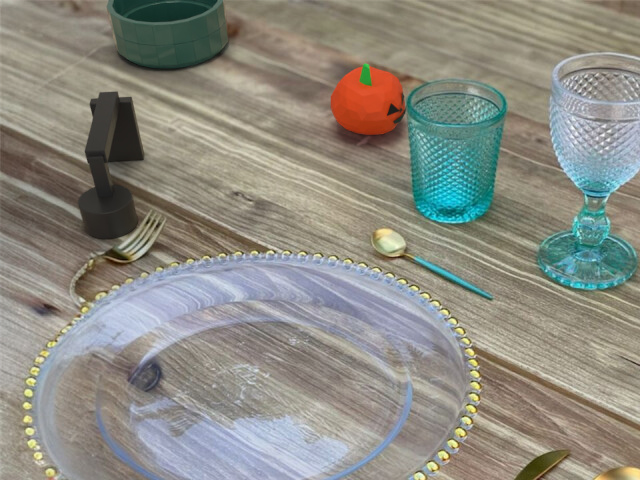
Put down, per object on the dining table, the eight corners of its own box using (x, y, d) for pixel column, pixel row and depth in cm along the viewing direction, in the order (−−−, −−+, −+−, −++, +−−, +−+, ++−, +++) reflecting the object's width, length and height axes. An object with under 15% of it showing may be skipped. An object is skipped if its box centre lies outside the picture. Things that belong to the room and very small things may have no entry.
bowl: (111, 73, 98) (100, 27, 95) (123, 24, 107) (113, -20, 103) (227, 68, 99) (221, 21, 96) (230, 19, 108) (224, -25, 104)
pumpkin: (400, 104, 94) (400, 41, 89) (410, 145, 88) (411, 80, 83) (329, 108, 93) (325, 45, 88) (334, 150, 87) (330, 85, 83)
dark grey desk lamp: (135, 237, 78) (118, 167, 73) (81, 240, 77) (61, 170, 73) (148, 154, 87) (134, 87, 82) (100, 156, 87) (83, 89, 82)
